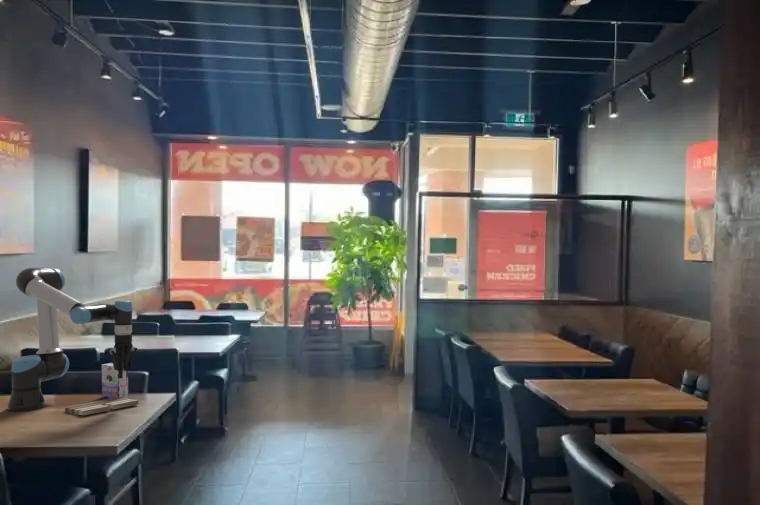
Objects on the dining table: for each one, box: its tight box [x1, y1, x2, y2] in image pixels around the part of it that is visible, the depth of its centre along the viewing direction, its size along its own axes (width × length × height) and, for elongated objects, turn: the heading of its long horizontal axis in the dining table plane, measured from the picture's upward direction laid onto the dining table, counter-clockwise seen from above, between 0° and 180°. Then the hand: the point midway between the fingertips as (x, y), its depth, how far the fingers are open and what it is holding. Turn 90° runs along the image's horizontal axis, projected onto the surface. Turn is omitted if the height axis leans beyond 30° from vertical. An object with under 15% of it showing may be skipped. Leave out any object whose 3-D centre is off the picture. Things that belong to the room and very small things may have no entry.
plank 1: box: [74, 405, 111, 416], centre depth 283 cm, size 8×12×2 cm
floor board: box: [64, 397, 130, 415], centre depth 293 cm, size 8×27×2 cm, turn 141°
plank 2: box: [105, 398, 140, 410], centre depth 294 cm, size 8×12×2 cm
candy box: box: [100, 362, 129, 399], centre depth 313 cm, size 14×6×16 cm, turn 58°
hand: (123, 384), depth 293 cm, fingers closed
